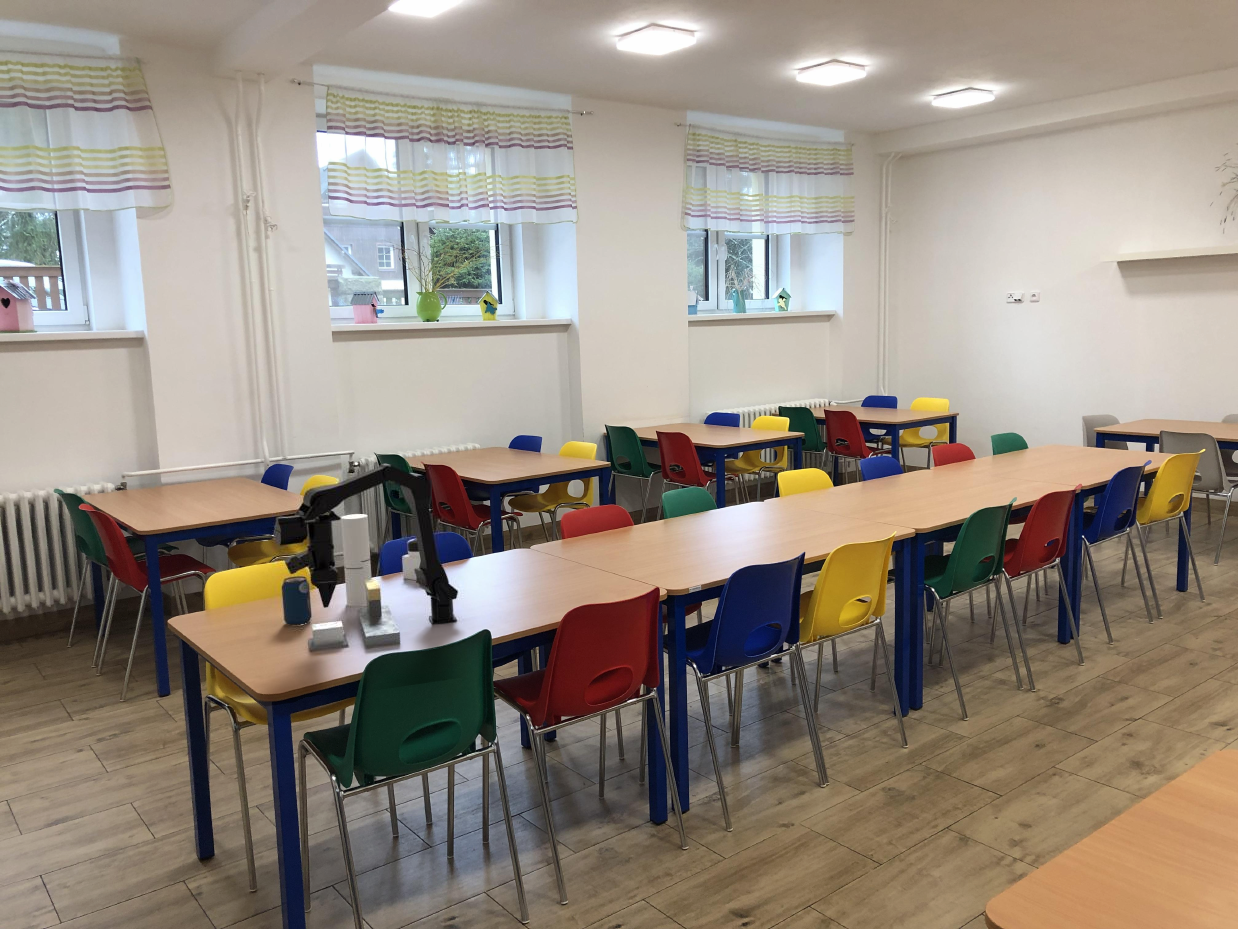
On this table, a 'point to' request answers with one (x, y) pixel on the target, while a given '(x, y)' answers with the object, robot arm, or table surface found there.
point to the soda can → (296, 600)
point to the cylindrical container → (356, 557)
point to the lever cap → (327, 633)
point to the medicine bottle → (411, 560)
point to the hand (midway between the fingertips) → (324, 602)
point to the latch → (372, 590)
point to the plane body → (378, 625)
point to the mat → (328, 646)
